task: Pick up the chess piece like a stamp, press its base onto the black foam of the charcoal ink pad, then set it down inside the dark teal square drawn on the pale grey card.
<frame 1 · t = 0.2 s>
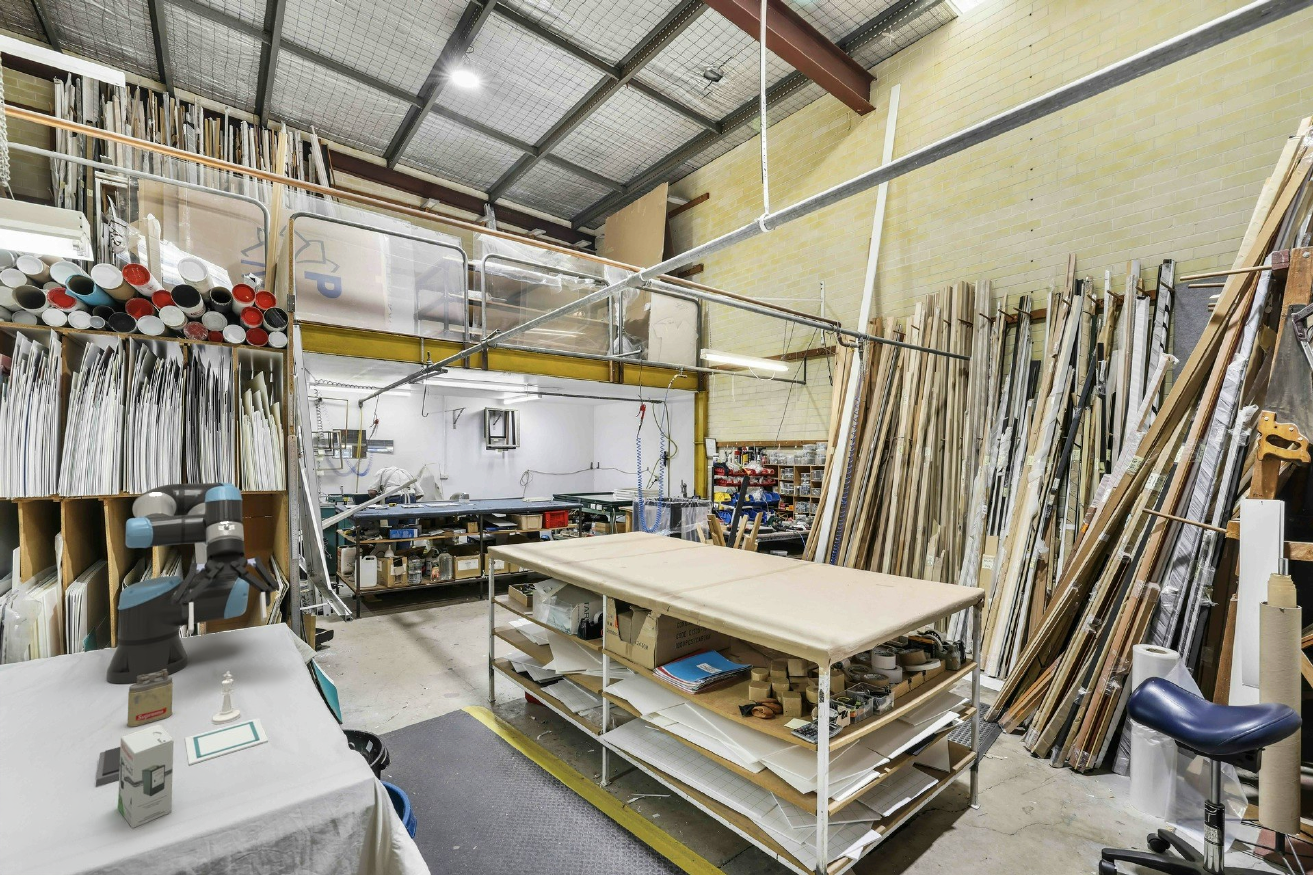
hand: (228, 625, 128), 16 cm above the table, tool tilted 35°, fingers open, 13 cm apart
ink pad: (129, 763, 100), on the table
chess piece: (226, 719, 117), on the table
ink box: (144, 811, 88), on the table
print card: (226, 740, 108), on the table
lighter: (149, 720, 116), on the table
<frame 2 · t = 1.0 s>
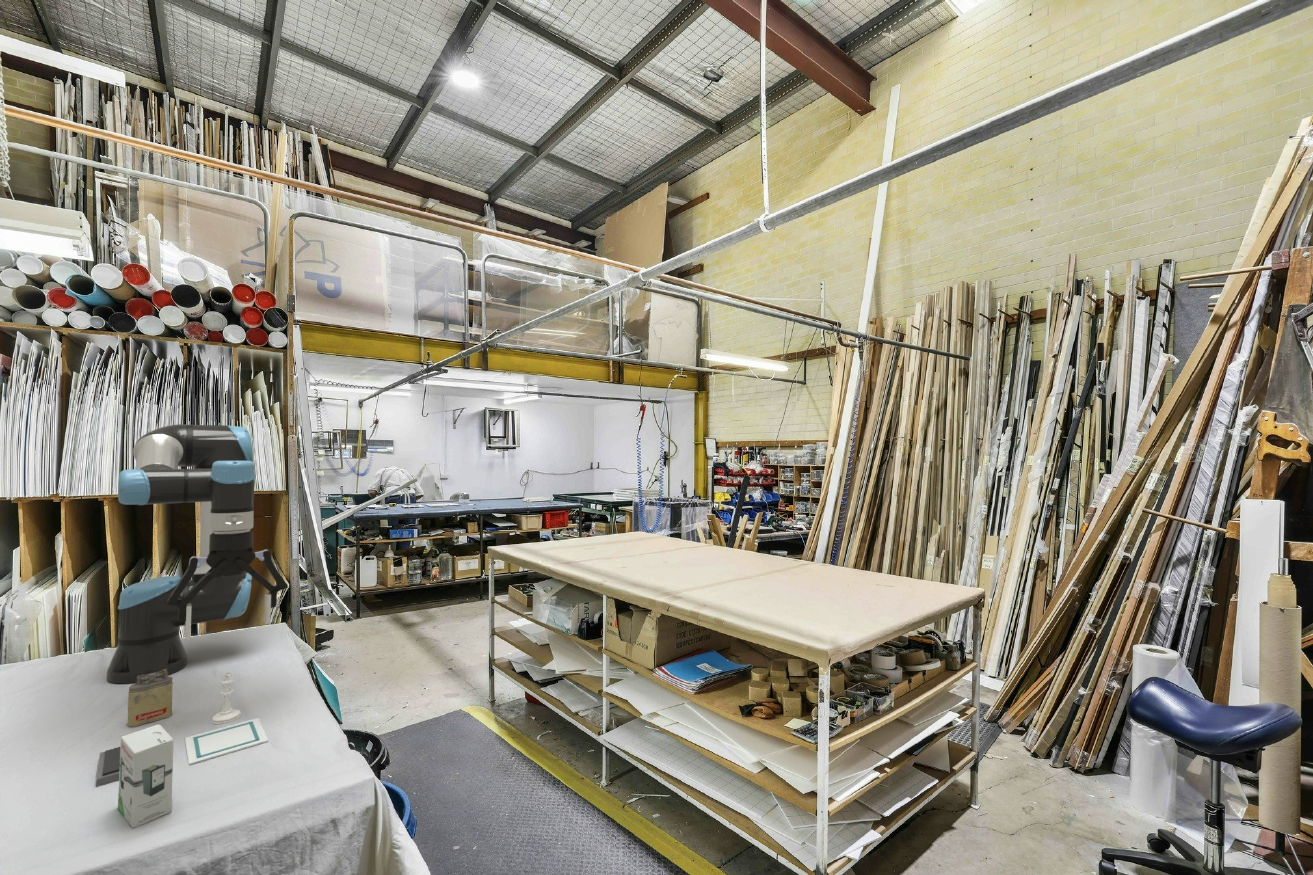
hand: (229, 629, 117), 19 cm above the table, tool pointing down, fingers open, 13 cm apart
nothing on the table moved.
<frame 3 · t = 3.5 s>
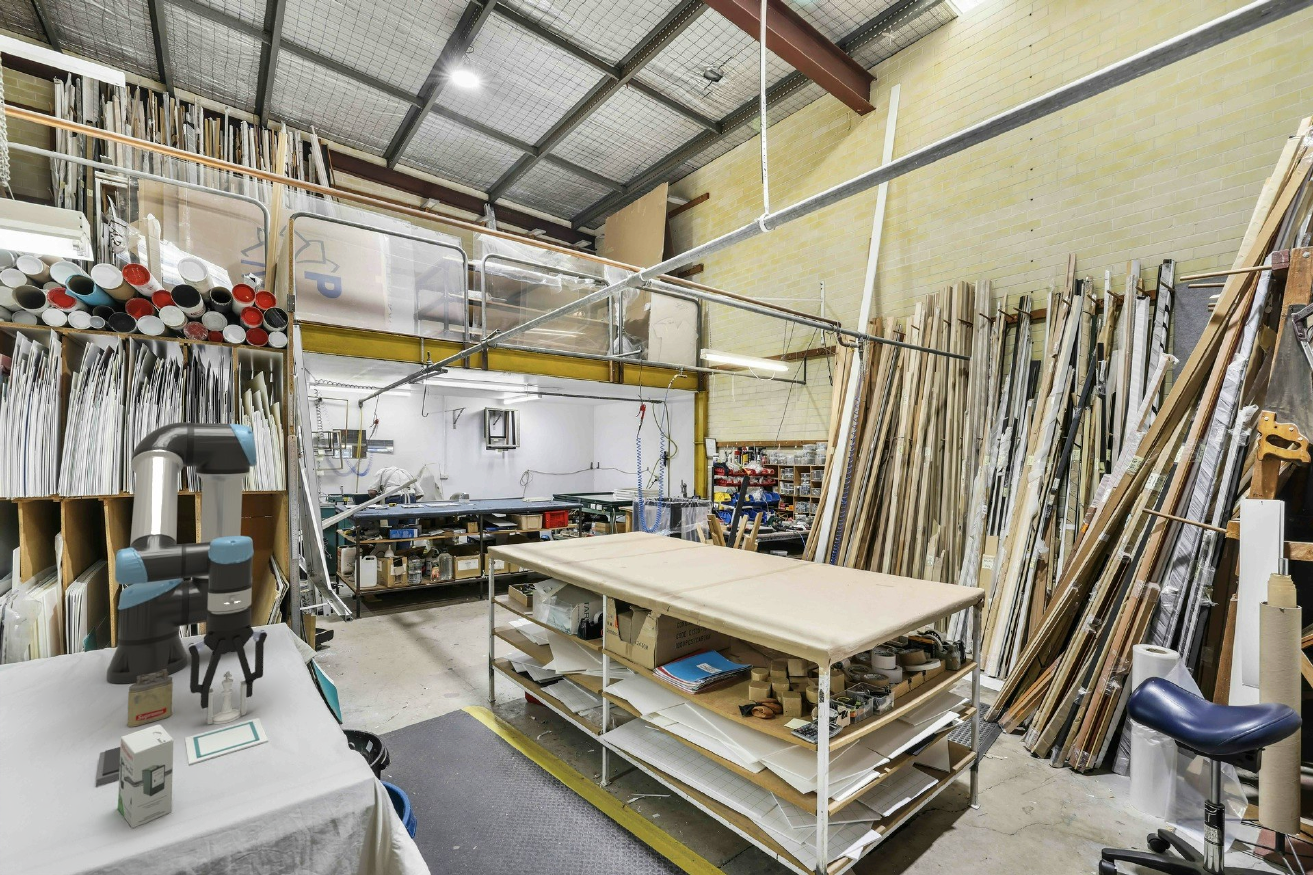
hand: (226, 716, 117), 0 cm above the table, tool pointing down, fingers closed on chess piece, 5 cm apart
chess piece: (226, 719, 117), on the table, touching gripper
everything else where it was.
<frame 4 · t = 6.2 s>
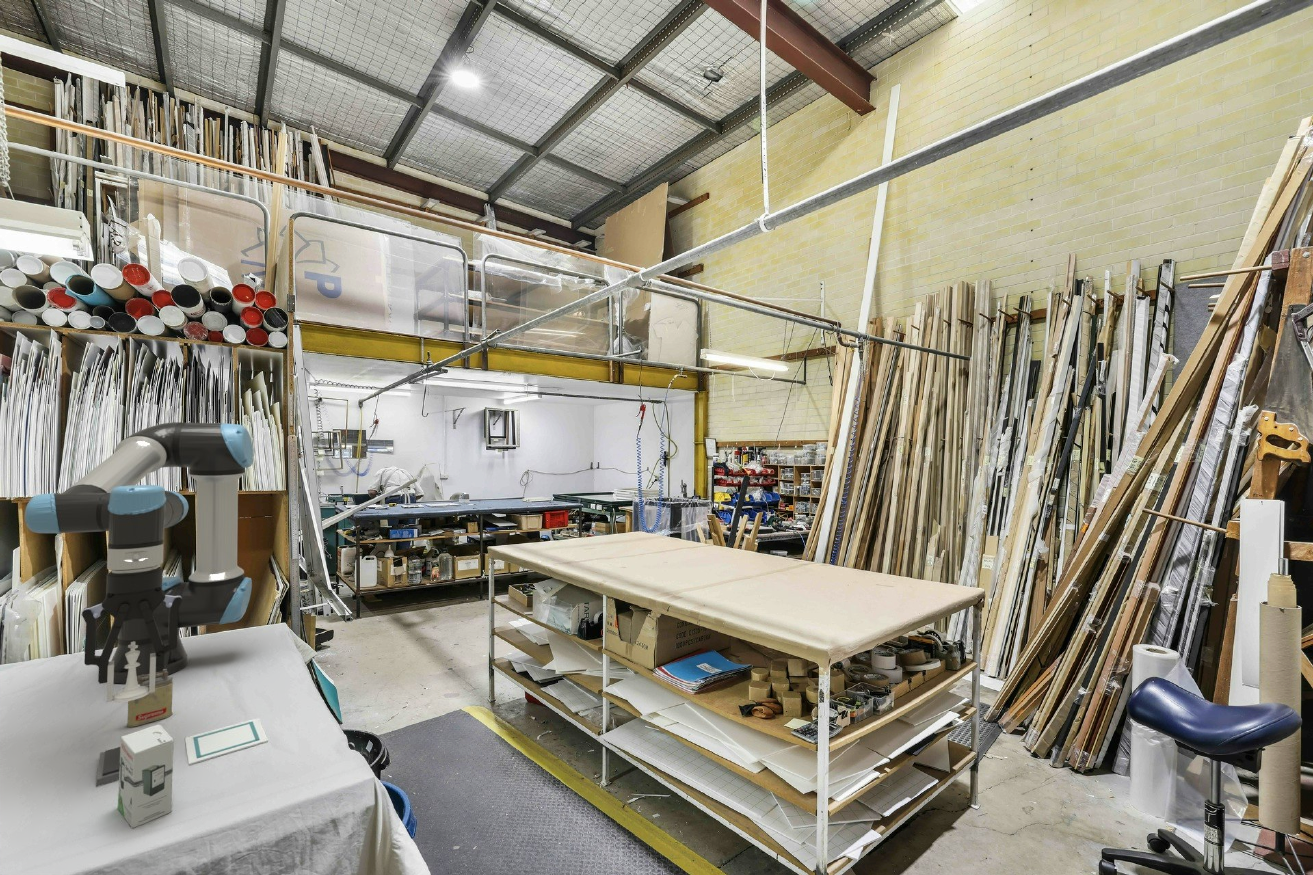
hand: (131, 694, 100), 13 cm above the table, tool pointing down, fingers closed on chess piece, 5 cm apart
chess piece: (131, 697, 100), point 12 cm above the table, touching gripper
everything else where it was.
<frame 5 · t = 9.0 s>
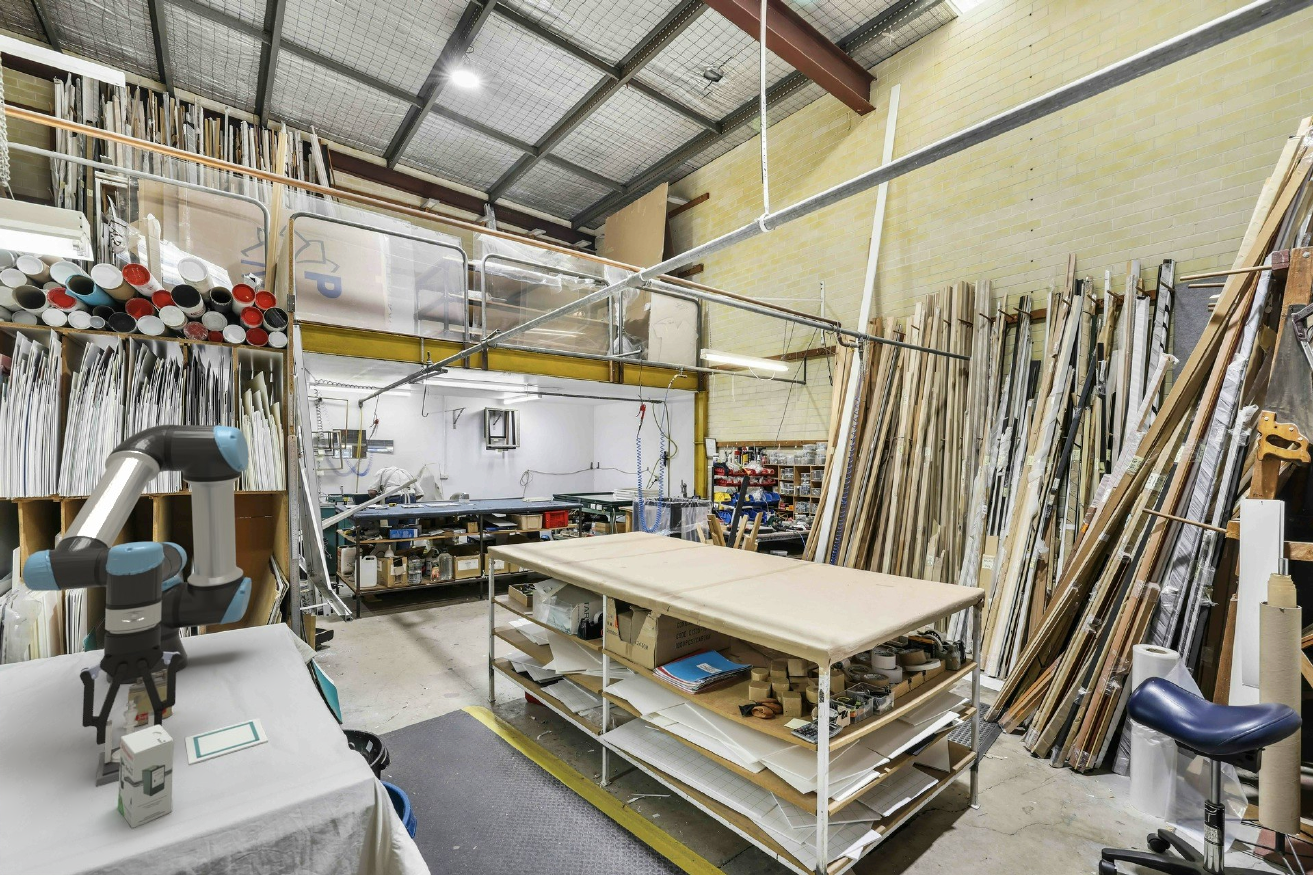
hand: (129, 753, 100), 2 cm above the table, tool pointing down, fingers closed on chess piece, 5 cm apart
chess piece: (129, 755, 100), point 1 cm above the table, touching gripper, ink pad
everything else where it was.
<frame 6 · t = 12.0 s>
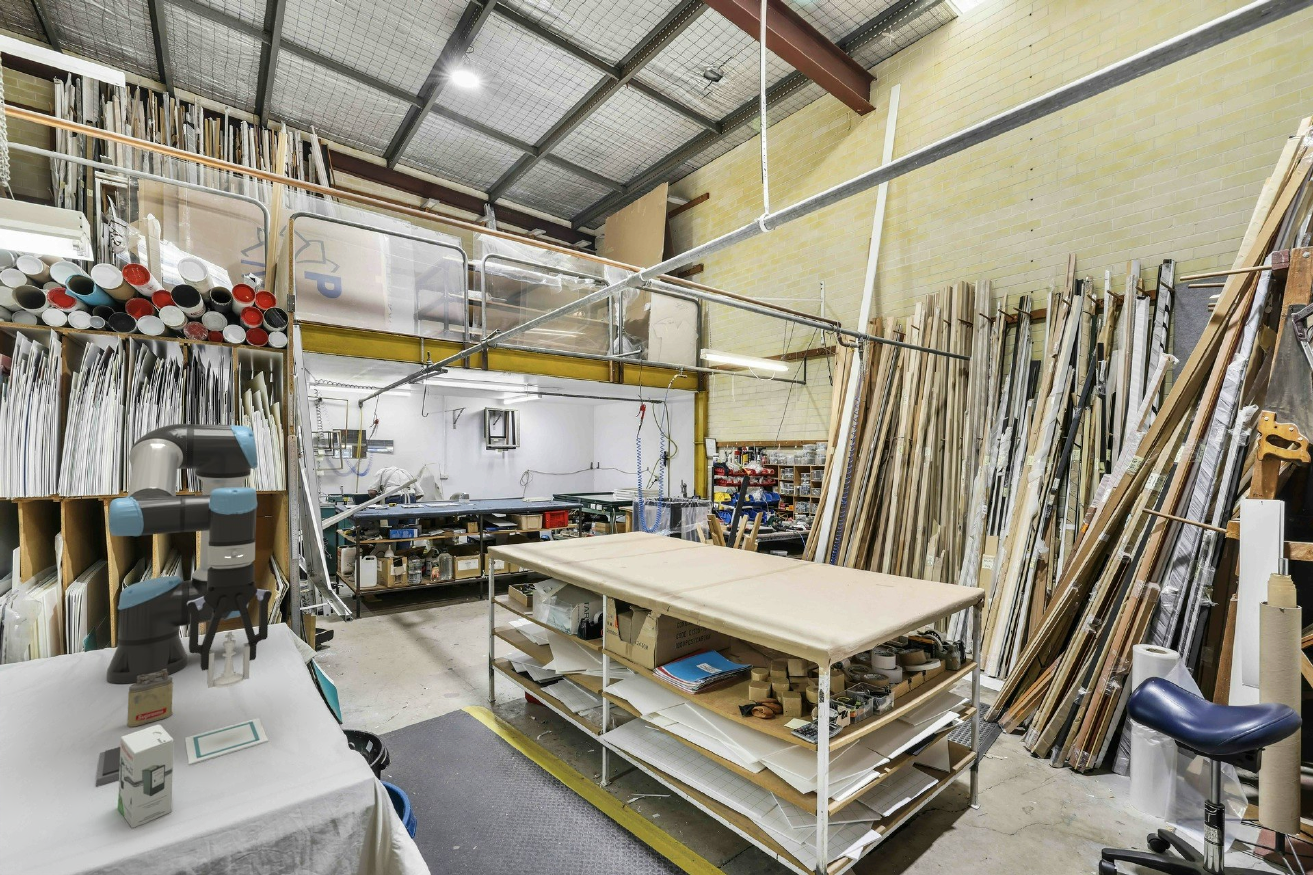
hand: (228, 680, 109), 12 cm above the table, tool pointing down, fingers closed on chess piece, 5 cm apart
chess piece: (228, 683, 108), point 11 cm above the table, touching gripper
everything else where it was.
when the fingers open (1 cm above the table, at t = 14.5 s): chess piece stays where it is, resting on print card.
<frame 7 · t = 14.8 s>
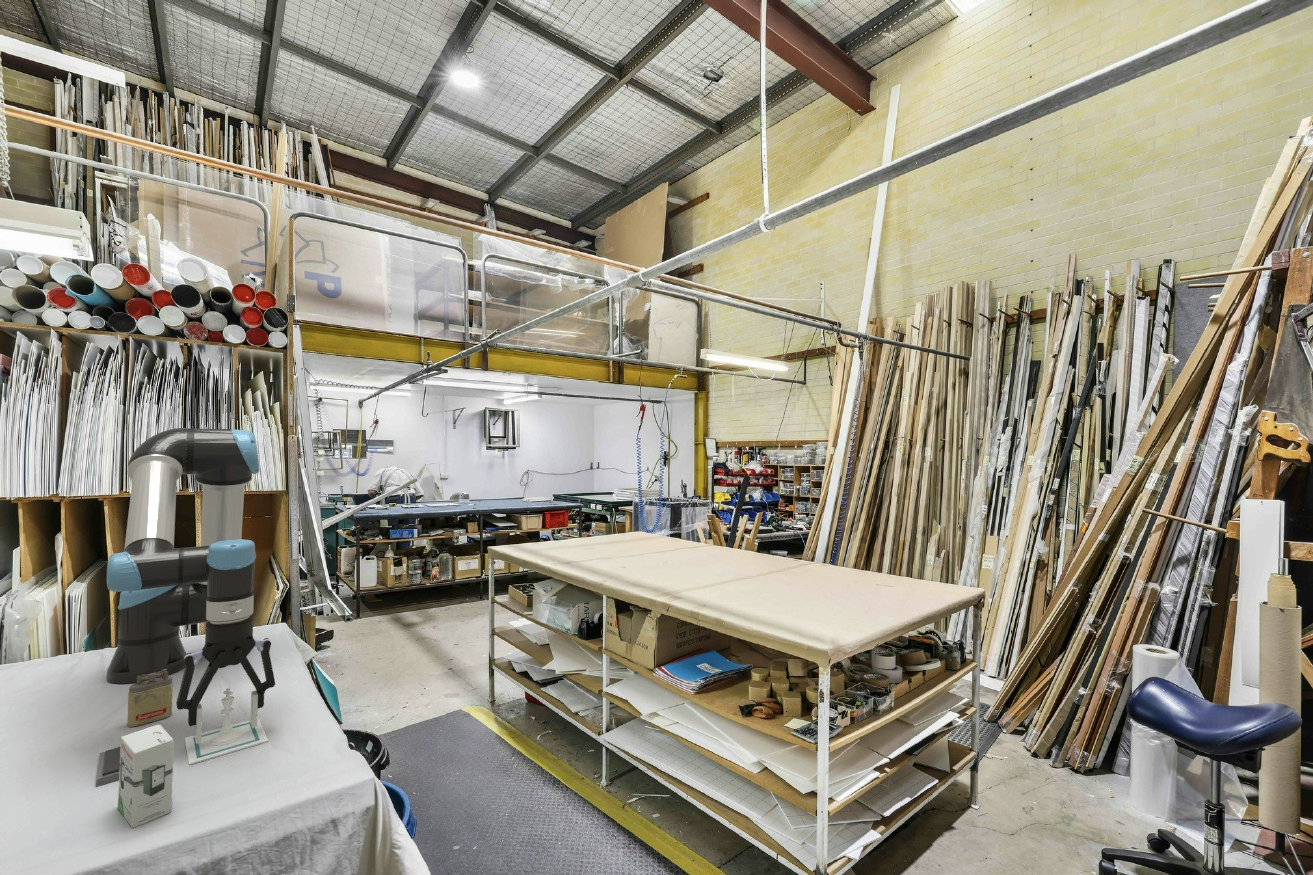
hand: (226, 732, 108), 2 cm above the table, tool pointing down, fingers open, 8 cm apart
chess piece: (226, 739, 108), resting on print card
everything else where it was.
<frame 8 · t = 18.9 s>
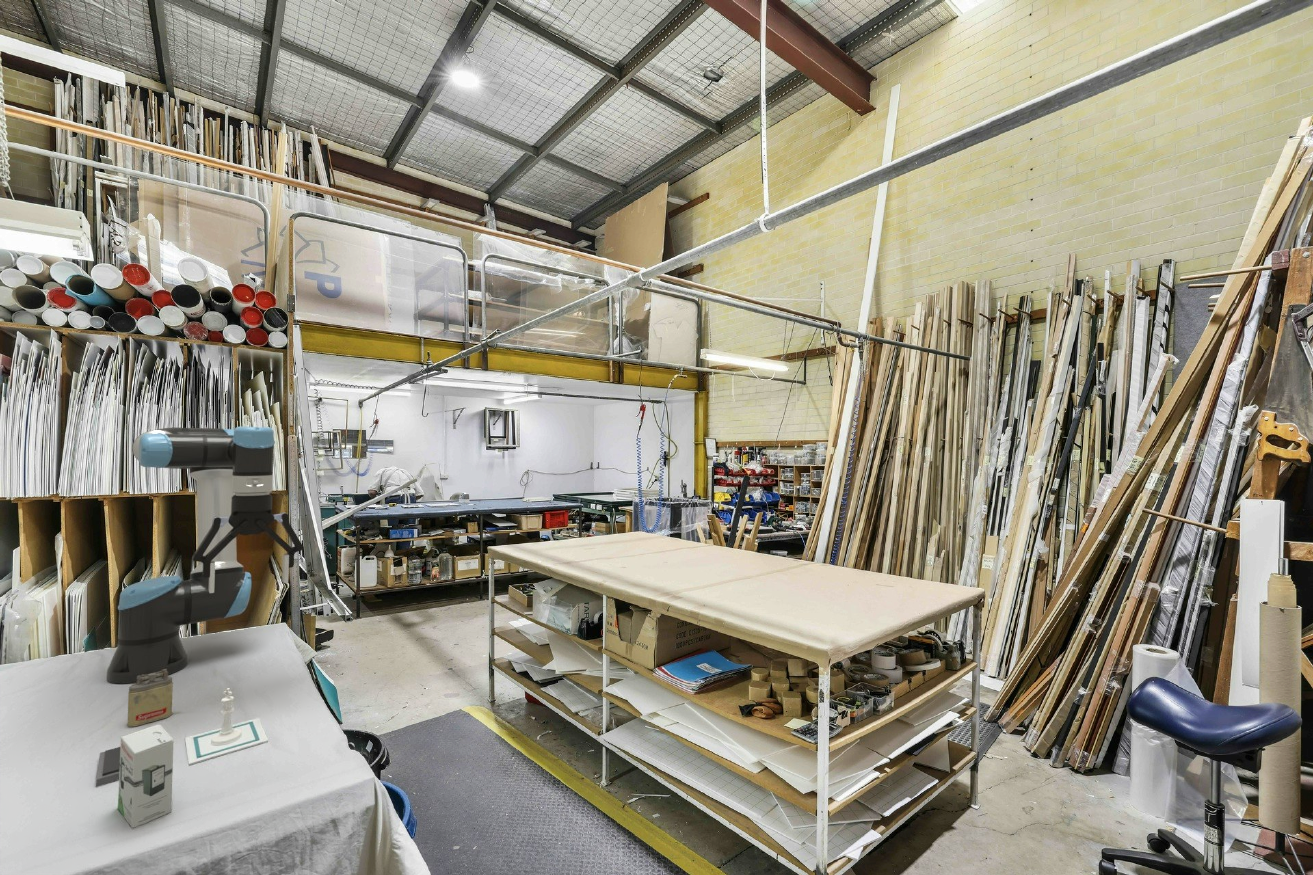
hand: (249, 586, 124), 27 cm above the table, tool pointing down, fingers open, 13 cm apart
nothing on the table moved.
at the end: chess piece inside the target area on the print card (0.0 cm from its centre), point 0.1 cm above the print card's base; chess piece tilted 0°; the gripper is holding nothing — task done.
